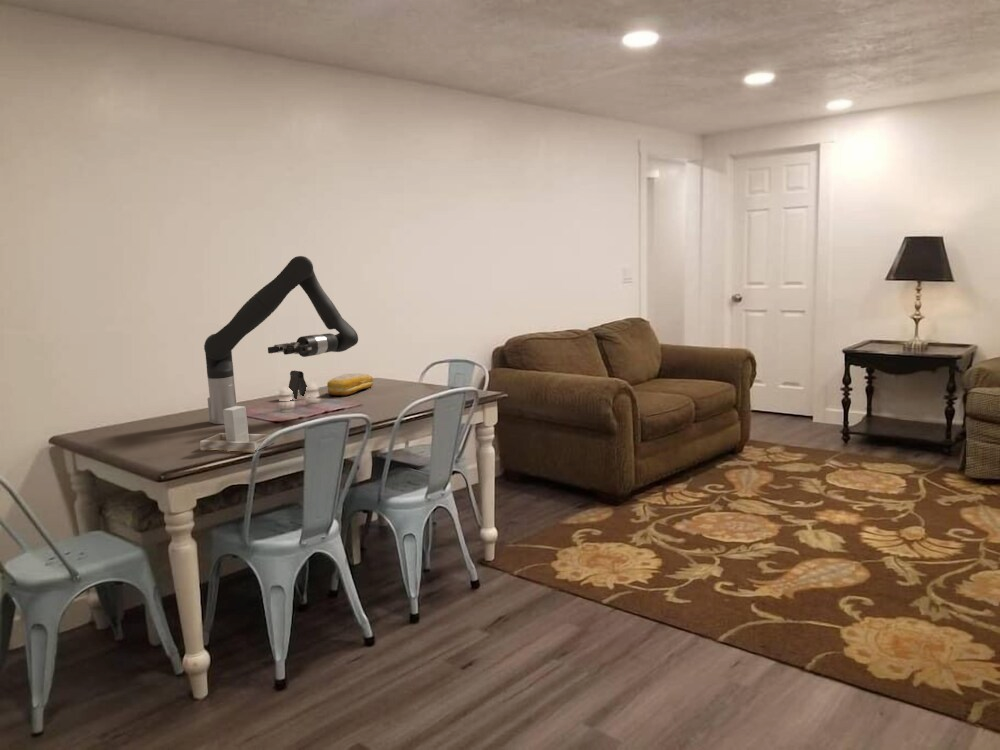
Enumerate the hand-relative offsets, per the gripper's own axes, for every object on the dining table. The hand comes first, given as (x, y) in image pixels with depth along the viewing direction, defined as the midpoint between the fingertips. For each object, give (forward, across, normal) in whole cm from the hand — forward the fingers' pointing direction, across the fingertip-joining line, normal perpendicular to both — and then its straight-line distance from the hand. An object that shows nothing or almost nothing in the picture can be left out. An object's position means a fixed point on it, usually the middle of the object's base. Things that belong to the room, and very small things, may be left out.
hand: (276, 351), depth 263 cm
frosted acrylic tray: (+24, +7, +28) cm, 38 cm away
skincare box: (+24, +7, +27) cm, 37 cm away
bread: (-62, -31, +28) cm, 75 cm away
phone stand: (-41, -41, +28) cm, 65 cm away
